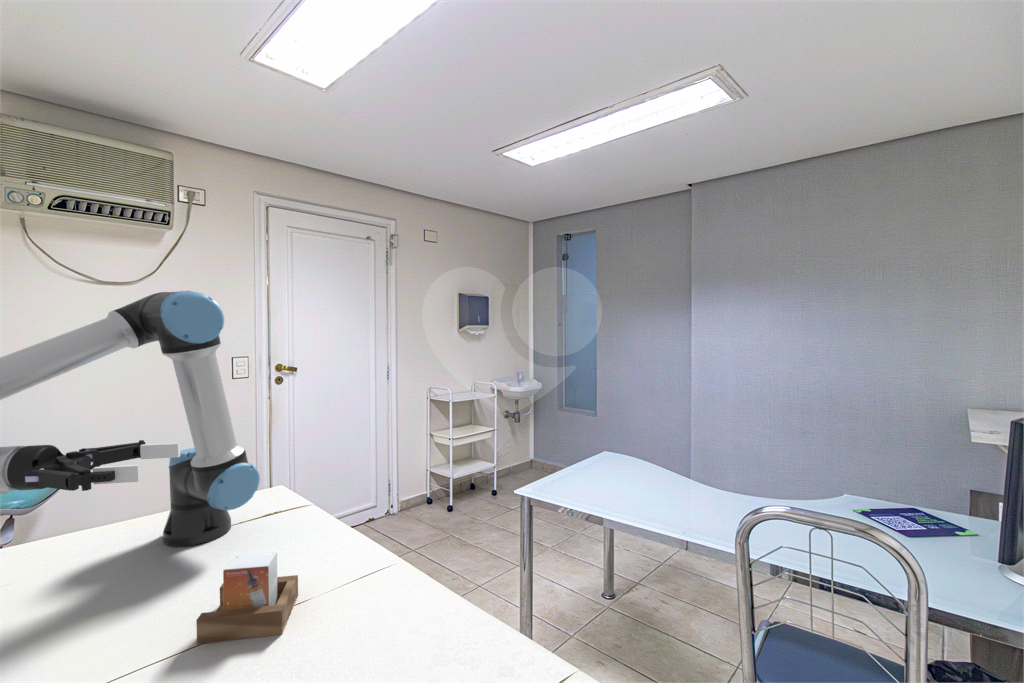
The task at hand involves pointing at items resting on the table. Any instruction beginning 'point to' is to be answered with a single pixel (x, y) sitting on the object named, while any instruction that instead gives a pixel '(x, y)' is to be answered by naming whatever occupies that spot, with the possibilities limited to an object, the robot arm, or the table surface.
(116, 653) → the table surface
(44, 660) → the table surface
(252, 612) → the rack
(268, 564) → the small box
